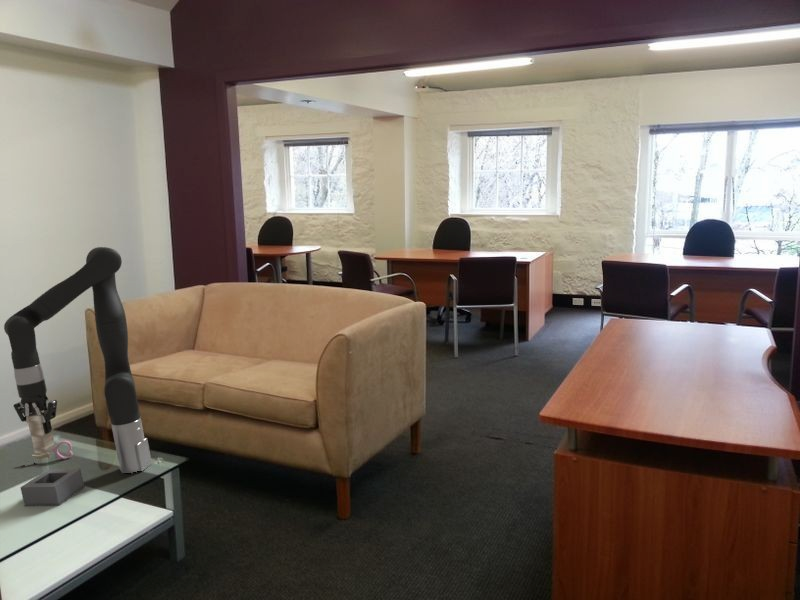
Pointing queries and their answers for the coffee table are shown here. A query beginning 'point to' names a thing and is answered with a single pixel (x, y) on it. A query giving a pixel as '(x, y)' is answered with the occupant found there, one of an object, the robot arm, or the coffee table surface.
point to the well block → (52, 487)
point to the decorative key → (56, 452)
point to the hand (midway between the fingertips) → (41, 432)
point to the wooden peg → (40, 435)
